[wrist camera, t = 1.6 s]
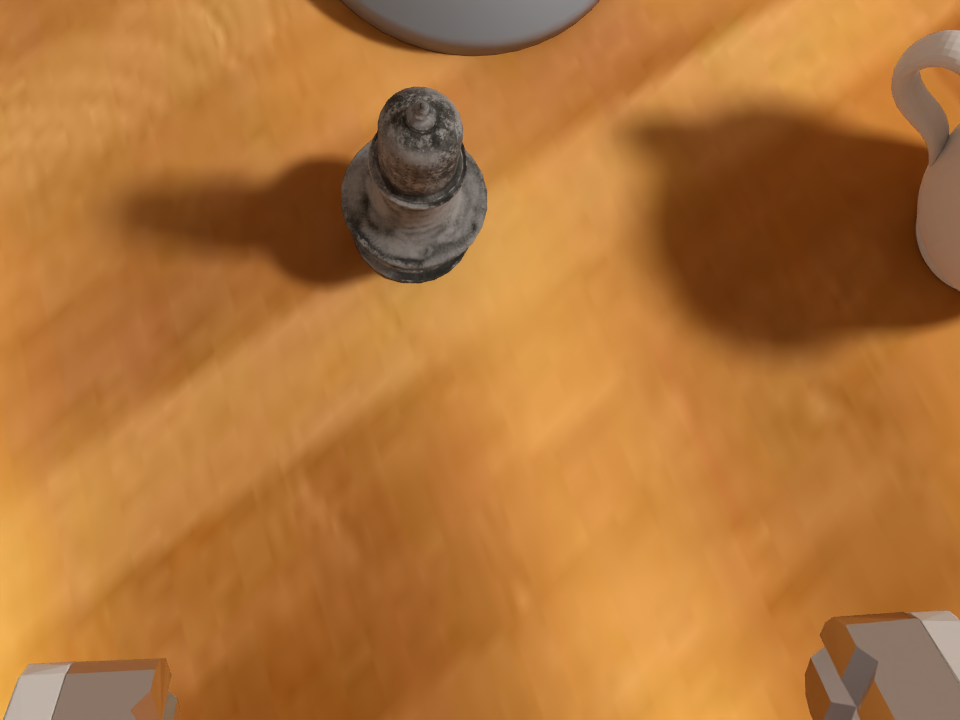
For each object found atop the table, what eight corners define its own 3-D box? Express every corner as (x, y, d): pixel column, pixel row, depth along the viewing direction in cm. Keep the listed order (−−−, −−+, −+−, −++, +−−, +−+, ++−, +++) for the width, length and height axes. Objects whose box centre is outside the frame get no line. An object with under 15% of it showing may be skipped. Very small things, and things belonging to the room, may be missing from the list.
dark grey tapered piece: (398, 316, 39) (403, 232, 27) (317, 210, 39) (287, 81, 27) (505, 239, 40) (555, 126, 28) (425, 136, 40) (441, -18, 28)
